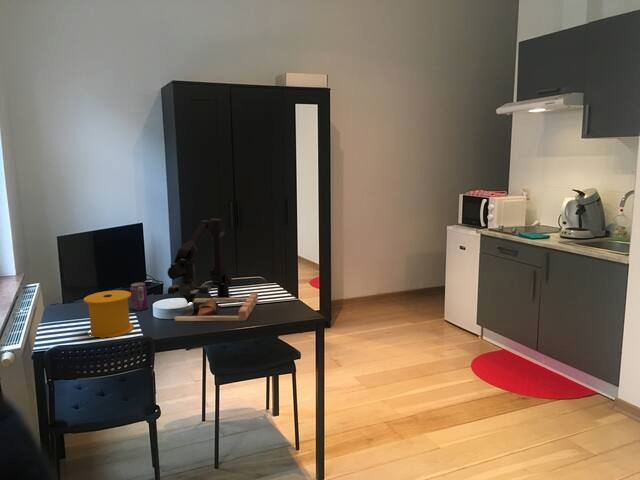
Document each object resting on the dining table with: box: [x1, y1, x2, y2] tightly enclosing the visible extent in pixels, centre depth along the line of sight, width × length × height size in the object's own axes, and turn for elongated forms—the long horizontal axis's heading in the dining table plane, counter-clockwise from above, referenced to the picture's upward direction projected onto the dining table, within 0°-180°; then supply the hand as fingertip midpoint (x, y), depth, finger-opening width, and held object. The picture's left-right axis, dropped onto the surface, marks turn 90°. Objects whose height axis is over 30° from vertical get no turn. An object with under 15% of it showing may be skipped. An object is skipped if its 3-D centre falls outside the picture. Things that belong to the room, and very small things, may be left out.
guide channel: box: [174, 292, 259, 322], centre depth 240 cm, size 30×31×4 cm
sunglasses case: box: [197, 297, 217, 316], centre depth 240 cm, size 18×7×7 cm, turn 12°
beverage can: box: [129, 282, 149, 311], centre depth 244 cm, size 7×7×12 cm
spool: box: [83, 289, 135, 339], centre depth 214 cm, size 18×18×15 cm
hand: (190, 307), depth 241 cm, fingers closed
